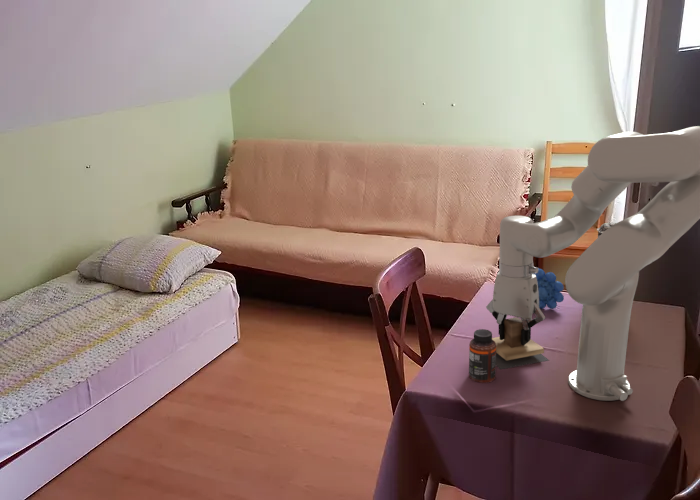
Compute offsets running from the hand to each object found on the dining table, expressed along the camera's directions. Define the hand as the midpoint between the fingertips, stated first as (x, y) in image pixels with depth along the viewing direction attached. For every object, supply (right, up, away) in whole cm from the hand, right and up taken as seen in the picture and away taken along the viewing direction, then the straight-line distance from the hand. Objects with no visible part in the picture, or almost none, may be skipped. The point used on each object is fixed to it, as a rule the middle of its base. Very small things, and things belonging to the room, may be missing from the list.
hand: (514, 339), depth 152 cm
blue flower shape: (+15, +5, +27) cm, 31 cm away
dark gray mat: (0, -4, +2) cm, 4 cm away
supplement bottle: (-10, -8, -9) cm, 15 cm away
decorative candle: (+32, +4, +25) cm, 41 cm away
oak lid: (0, -2, +1) cm, 2 cm away
